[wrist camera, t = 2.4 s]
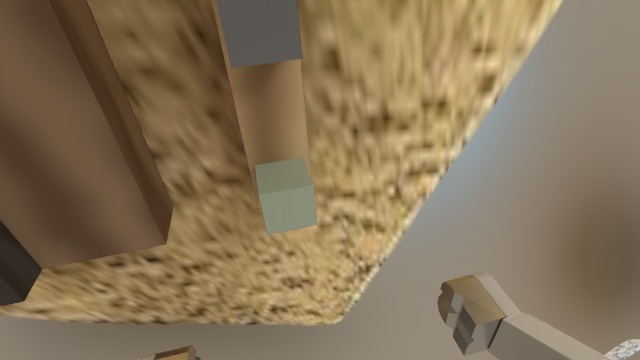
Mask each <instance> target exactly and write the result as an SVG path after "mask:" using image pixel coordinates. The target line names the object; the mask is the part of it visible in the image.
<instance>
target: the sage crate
mask: <svg viewBox="0 0 640 360" xmlns="http://www.w3.org/2000/svg"><path fill="white" fill-rule="evenodd" d="M255 171H256V178H257V186H258V193H259V198H260V203H261V208H262V212H263V217H264V221H265V226H266V231H267V235H270V234H275V233H280V232H285V231H290V230H294V229H299V228H304V227H309V226H314V225H317V216H316V205H315V194H314V184H313V182H312V179H311V176H310V173H309V171H308V168H307V165H306V163H305V160H304V157H300V158H295V159H289V160H283V161H277V162H272V163H266V164H260V165H255Z"/></svg>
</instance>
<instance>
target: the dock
mask: <svg viewBox="0 0 640 360" xmlns="http://www.w3.org/2000/svg"><path fill="white" fill-rule="evenodd" d="M172 211H173V205H172V202H171V200H170V198H169V195H168V193H167V190H166V188H165V186H164V183H163V181H162V179H161V176H160V174H159V172H158V169H157V167H156V164H155V162H154V160H153V157H152V155H151V153H150V150H149V148H148V145H147V143H146V141H145V138H144V136H143V134H142V131H141V129H140V126H139V124H138V122H137V119H136V117H135V115H134V112H133V110H132V108H131V105H130V103H129V100H128V98H127V96H126V93H125V91H124V89H123V86H122V84H121V81H120V79H119V77H118V74H117V72H116V70H115V67H114V65H113V62H112V60H111V58H110V55H109V53H108V51H107V48H106V46H105V43H104V41H103V39H102V36H101V34H100V32H99V29H98V27H97V25H96V22H95V20H94V17H93V15H92V13H91V10H90V8H89V6H88V3H87V1H86V0H0V305H1V306H4V305H9V304H13V303H18V302H23V301H25V299H26V297H27V295H28V293H29V292H30V290H31V288H32V286H33V285H34V283H35V281H36V279H37V278H38V276H39V274H40V272H41V270H42V269H45V268H50V267H55V266H60V265H65V264H70V263H75V262H80V261H85V260H90V259H95V258H100V257H105V256H110V255H115V254H120V253H125V252H129V251H134V250H139V249H144V248H149V247H154V246H159V245H164V244H166V242H167V237H168V232H169V227H170V221H171V216H172Z"/></svg>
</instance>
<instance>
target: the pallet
mask: <svg viewBox="0 0 640 360" xmlns="http://www.w3.org/2000/svg"><path fill="white" fill-rule="evenodd" d="M211 2H212V6H213V11H214V15H215V19H216V24H217V28H218V33H219V37H220V42H221V46H222V51H223V55H224V59H225V64H226V68H227V73H228V77H229V82H230V86H231V90H232V95H233V99H234V104H235V108H236V113H237V117H238V122H239V126H240V130H241V135H242V139H243V144H244V148H245V153H246V157H247V161H248V166H249V170H250V175H251V179H252V184H253V188H254V193H255V197H256V201H257V206H258V209H260V208H261V203H260V198H259V193H258V186H257V178H256V171H255V165H260V164H266V163H272V162H277V161H283V160H289V159H295V158H300V157H304V160H305V163H306V165H307V168H308V171H309V173H310V176H311V168H310V157H309V146H308V136H307V125H306V114H305V104H304V93H303V82H302V72H301V61H300V59H297V60H289V61H281V62H274V63H266V64H258V65H251V66H243V67H235V68H231V65H230V60H229V56H228V51H227V46H226V42H225V37H224V32H223V28H222V23H221V19H220V14H219V9H218V5H217V0H211ZM311 179H312V178H311Z"/></svg>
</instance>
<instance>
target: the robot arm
mask: <svg viewBox="0 0 640 360" xmlns="http://www.w3.org/2000/svg"><path fill="white" fill-rule="evenodd" d="M441 290H442V291H443V293H442V294H441V295H440V296H439V297H438V302H437V303H438V308H439V312H440V315H441V317H442V319H443V320H444V322H445V324H446V325H448V326H449V327H451V328H452V329H453V338H454V339H455V341H456V343H457V344H458V346H459V348H460V349H461V351H462V353H463V355H464V356H465V355H469V354H473V353H477V352H481V351H485V350H488V352H490V353H491V354H492V355H494V356H495V357H496V358H498V359H499V360H611V359H609V358H608V357H606V356H604V355H602V354H600V353H599V352H597V351H595V350H593V349H591V348H589V347H588V346H586V345H584V344H582V343H580V342H579V341H576V340H575V339H573V338H571V337H569V336H568V335H566V334H564V333H562V332H560V331H558V330H557V329H555V328H553V327H551V326H549V325H547V324H546V323H544V322H542V321H540V320H538V319H537V318H535V317H533V316H531V315H529V314H527V313H521V312H520V311H519V310H518V308H517V307H516V306H515V305H514V304H513V302H512V301H511V300H510V299H509V297H508V296H507V295H506V294H505V292H504V291H503V290H502V289H501V288H500V286H499V285H498V284H497V283H496V282H495V280H494V279H493V278H492V277H491V275H490V274H488V273H487V272H480V273H476V274H473V275H468V276H464V277H460V278H457V279H453V280H449V281H445V282H444V283H442V285H441ZM195 355H196V350H195V348H194V347H193V345H190V346H186V347H182V348H178V349H174V350H170V351H166V352H162V353H156V354H153V355H149V356H145V357H141V358H138V359H137V360H201V359H200V358H199V357H196V356H195Z"/></svg>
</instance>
